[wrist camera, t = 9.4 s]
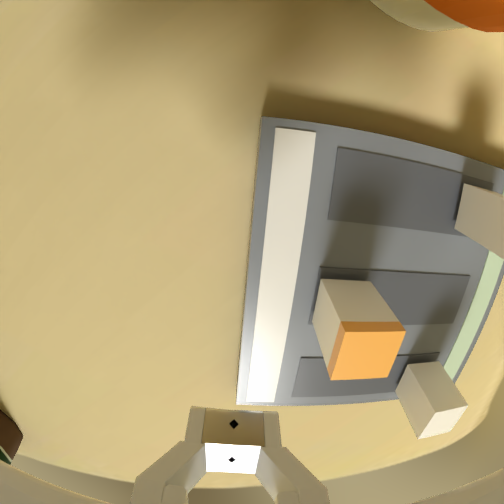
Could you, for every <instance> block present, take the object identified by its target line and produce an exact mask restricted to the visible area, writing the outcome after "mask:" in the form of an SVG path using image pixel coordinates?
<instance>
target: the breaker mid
mask: <svg viewBox="0 0 504 504" xmlns="http://www.w3.org/2000/svg"><path fill="white" fill-rule="evenodd" d="M312 323H313V326H314V329H315V332H316V335H317V338H318V342H319V345H320V348H321V351H322V354H323V358H324V361H325V364H326V367H327V371H328V374H329V377H330V380H352V379H371V378H385V377H388V375H389V372H390V370H391V368H392V365H393V363H394V361H395V358H396V356H397V353H398V351H399V348H400V346H401V343H402V341H403V338H404V336H405V333H406V330H405V329H404V327H403V326H402V324H401V323H400V322H399V320H398V319H397V317H396V316H395V314H394V313H393V312H392V310H391V309H390V307H389V306H388V305H387V303H386V302H385V300H384V299H383V298H382V296H381V295H380V294H379V292H378V291H377V290H376V288H375V287H374V285H373V284H372V283H371V281H355V280H337V279H321V280H320V285H319V290H318V295H317V300H316V305H315V310H314V315H313V319H312Z"/></svg>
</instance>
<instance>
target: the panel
mask: <svg viewBox="0 0 504 504" xmlns="http://www.w3.org/2000/svg"><path fill="white" fill-rule="evenodd" d="M464 183H465V184H469V185H472V186H476V187H480V188H483V189H487V190H490V191H494V192H497V193H499V194H502V195H504V170H503V169H501V168H498V167H495V166H492V165H489V164H486V163H484V162H481V161H478V160H475V159H471V158H468V157H465V156H462V155H459V154H455V153H452V152H449V151H445V150H442V149H438V148H435V147H431V146H427V145H423V144H420V143H416V142H412V141H408V140H403V139H399V138H395V137H390V136H386V135H381V134H377V133H372V132H367V131H362V130H356V129H351V128H345V127H340V126H334V125H327V124H321V123H314V122H307V121H299V120H292V119H283V118H274V117H264V116H262V117H261V119H260V130H259V141H258V152H257V163H256V174H255V185H254V196H253V207H252V218H251V229H250V240H249V251H248V263H247V274H246V285H245V297H244V308H243V320H242V331H241V343H240V354H239V366H238V377H237V389H236V404H241V405H268V406H310V405H337V404H353V403H366V402H377V401H387V400H396V399H399V398H398V396H397V394H396V392H395V390H396V388H397V386H398V384H399V382H400V380H401V378H402V376H403V374H404V371H405V369H406V367H407V365H408V364H416V363H426V362H436V361H439V362H440V363H441V365H442V366H443V368H444V369H445V371H446V372H447V374H448V375H449V377H450V378H451V380H452V381H453V383H454V384H455V382H456V380H457V379H458V377H459V375H460V373H461V371H462V369H463V368H464V366H465V364H466V362H467V360H468V358H469V356H470V354H471V352H472V350H473V348H474V346H475V344H476V342H477V339H478V337H479V335H480V333H481V331H482V329H483V326H484V324H485V322H486V319H487V317H488V315H489V312H490V310H491V307H492V305H493V302H494V300H495V297H496V294H497V292H498V289H499V286H500V284H501V281H502V278H503V275H504V260H503V259H502V258H500V257H499V256H497V255H496V254H494V253H493V252H491V251H490V250H488V249H487V248H485V247H484V246H482V245H480V244H479V243H477V242H476V241H474V240H472V239H471V238H469V237H468V236H466V235H464V234H463V233H461V232H459V231H458V230H456V229H454V228H455V224H456V219H457V215H458V210H459V206H460V201H461V196H462V191H463V185H464ZM321 279H337V280H355V281H371V283H372V284H373V285H374V287H375V288H376V290H377V291H378V292H379V294H380V295H381V296H382V298H383V299H384V300H385V302H386V303H387V305H388V306H389V307H390V309H391V310H392V312H393V313H394V314H395V316H396V317H397V319H398V320H399V322H400V323H401V324H402V326H403V327H404V329H405V330H406V333H405V336H404V338H403V341H402V343H401V346H400V348H399V351H398V353H397V356H396V358H395V361H394V363H393V365H392V368H391V370H390V372H389V375H388V377H385V378H371V379H352V380H330V377H329V374H328V371H327V367H326V364H325V361H324V358H323V354H322V351H321V348H320V345H319V342H318V338H317V335H316V332H315V329H314V326H313V323H312V319H313V315H314V310H315V305H316V300H317V295H318V290H319V285H320V280H321Z"/></svg>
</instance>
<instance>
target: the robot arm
mask: <svg viewBox="0 0 504 504" xmlns="http://www.w3.org/2000/svg"><path fill="white" fill-rule="evenodd" d="M207 471H217V472H235V473H251V474H255V475H256V477H257V478H258V480H259V481H260V482H261V484H262V485H263V486H264V488H265V489H266V490H267V492H268V493H269V494H270V496H271V497H272V498H273V500H274V504H330V502H329V496H328V491H327V488H326V487H325V486H324V485H323V484H322V483H321V482H320V481H319V480H318V479H317V478H316V477H315V476H314V475H313V474H312V473H311V472H310V471H309V470H308V469H307V468H306V467H305V466H304V465H303V464H302V463H301V462H300V461H299V460H298V459H297V458H296V457H295V456H294V455H293V454H292V453H291V452H290V451H289V450H288V449H287V448H286V447H282V445H281V435H280V425H279V416H278V412H271V411H263V412H262V411H243V410H224V409H214V408H204V407H196V406H191V409H190V413H189V418H188V424H187V430H186V435H185V441H180V442H178V443H177V444H176V445H175V446H174V447H173V448H171V449H170V450H169V451H168V452H167V453H166V454H164V455H163V456H162V457H161V458H160V459H158V460H157V461H156V462H155V463H154V464H152V465H151V466H150V467H149V468H147V469H146V470H145V471H144V472H142V473H141V474H140V475H139V476H137V477H136V481H135V485H134V488H133V492H132V496H131V500H130V504H189V502H188V496H187V494H188V493H189V492H190V490H191V489H192V488H193V487H194V486H195V485H196V484H197V483H198V482H199V480H200V479H201V478H202V477H203V476H204V475H205V474H206V472H207ZM0 504H111V503H108V502H104V501H101V500H97V499H94V498H91V497H88V496H85V495H82V494H79V493H75V492H73V491H70V490H67V489H64V488H62V487H59V486H56V485H54V484H51V483H49V482H46V481H44V480H41V479H39V478H37V477H34V476H32V475H30V474H28V473H26V472H23V471H21V470H19V469H17V468H15V467H13V466H11V465H9V464H7V463H5V462H3V461H1V460H0ZM409 504H504V468H502V469H500V470H498V471H496V472H494V473H492V474H490V475H487V476H485V477H483V478H481V479H478V480H476V481H474V482H471V483H469V484H466V485H464V486H461V487H458V488H456V489H453V490H450V491H447V492H444V493H442V494H439V495H436V496H433V497H429V498H426V499H423V500H419V501H416V502H413V503H409Z"/></svg>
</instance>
